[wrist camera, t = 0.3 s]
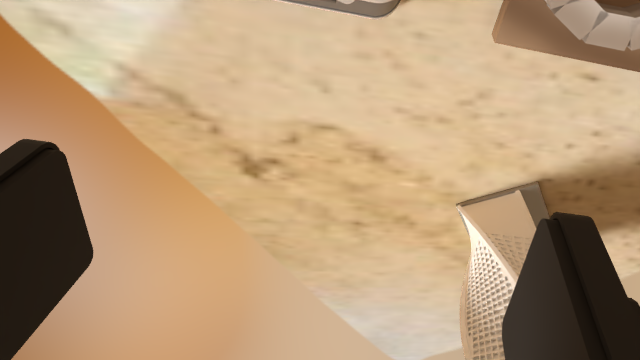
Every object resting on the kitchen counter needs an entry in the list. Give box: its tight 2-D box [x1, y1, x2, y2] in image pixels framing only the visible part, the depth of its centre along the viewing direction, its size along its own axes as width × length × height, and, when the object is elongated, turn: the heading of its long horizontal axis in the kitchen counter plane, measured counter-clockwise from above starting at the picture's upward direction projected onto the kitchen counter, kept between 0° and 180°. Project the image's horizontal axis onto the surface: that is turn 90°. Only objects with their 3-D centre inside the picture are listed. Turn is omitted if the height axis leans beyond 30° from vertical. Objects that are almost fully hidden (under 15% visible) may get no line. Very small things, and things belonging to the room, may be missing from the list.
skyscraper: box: [456, 182, 550, 360], centre depth 33 cm, size 8×8×28 cm
